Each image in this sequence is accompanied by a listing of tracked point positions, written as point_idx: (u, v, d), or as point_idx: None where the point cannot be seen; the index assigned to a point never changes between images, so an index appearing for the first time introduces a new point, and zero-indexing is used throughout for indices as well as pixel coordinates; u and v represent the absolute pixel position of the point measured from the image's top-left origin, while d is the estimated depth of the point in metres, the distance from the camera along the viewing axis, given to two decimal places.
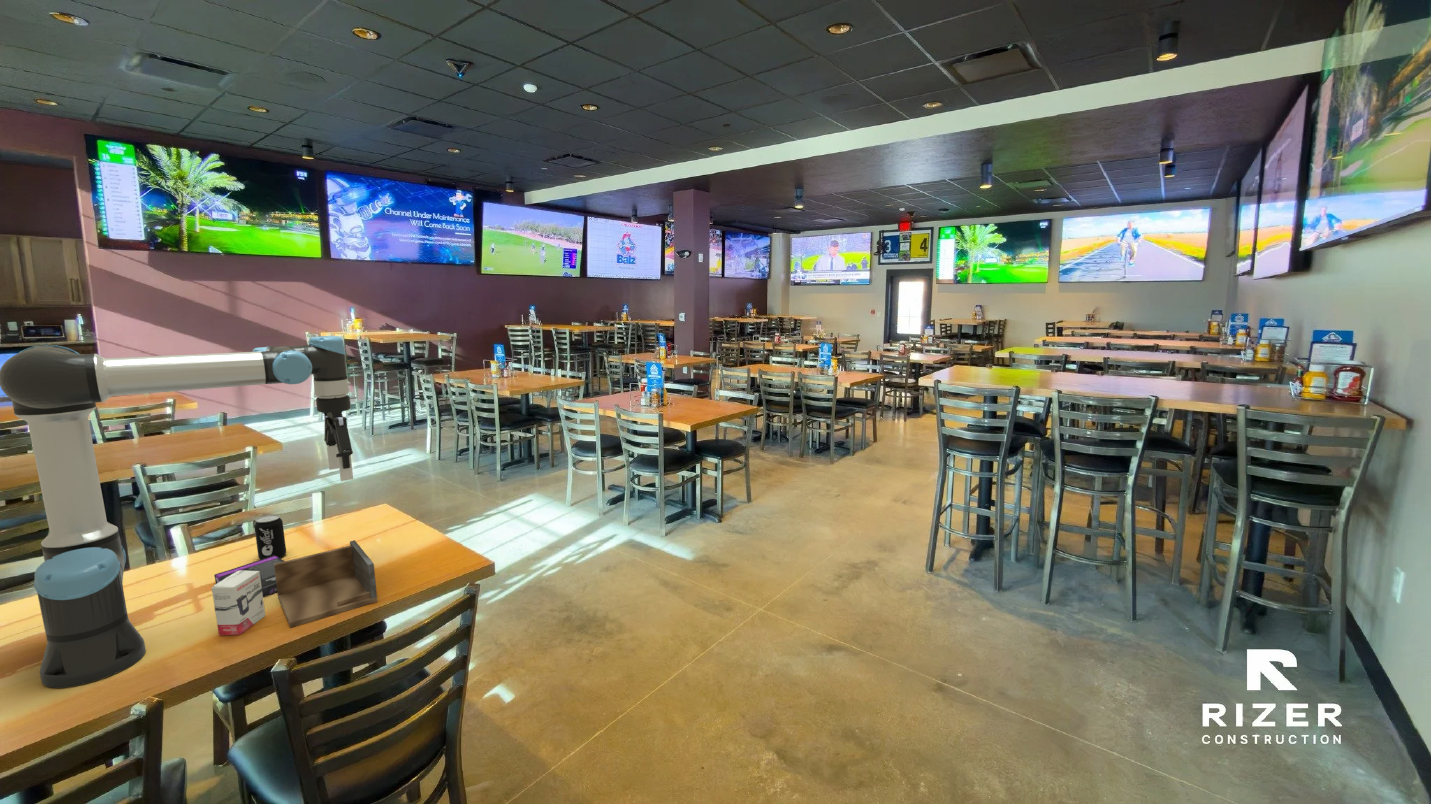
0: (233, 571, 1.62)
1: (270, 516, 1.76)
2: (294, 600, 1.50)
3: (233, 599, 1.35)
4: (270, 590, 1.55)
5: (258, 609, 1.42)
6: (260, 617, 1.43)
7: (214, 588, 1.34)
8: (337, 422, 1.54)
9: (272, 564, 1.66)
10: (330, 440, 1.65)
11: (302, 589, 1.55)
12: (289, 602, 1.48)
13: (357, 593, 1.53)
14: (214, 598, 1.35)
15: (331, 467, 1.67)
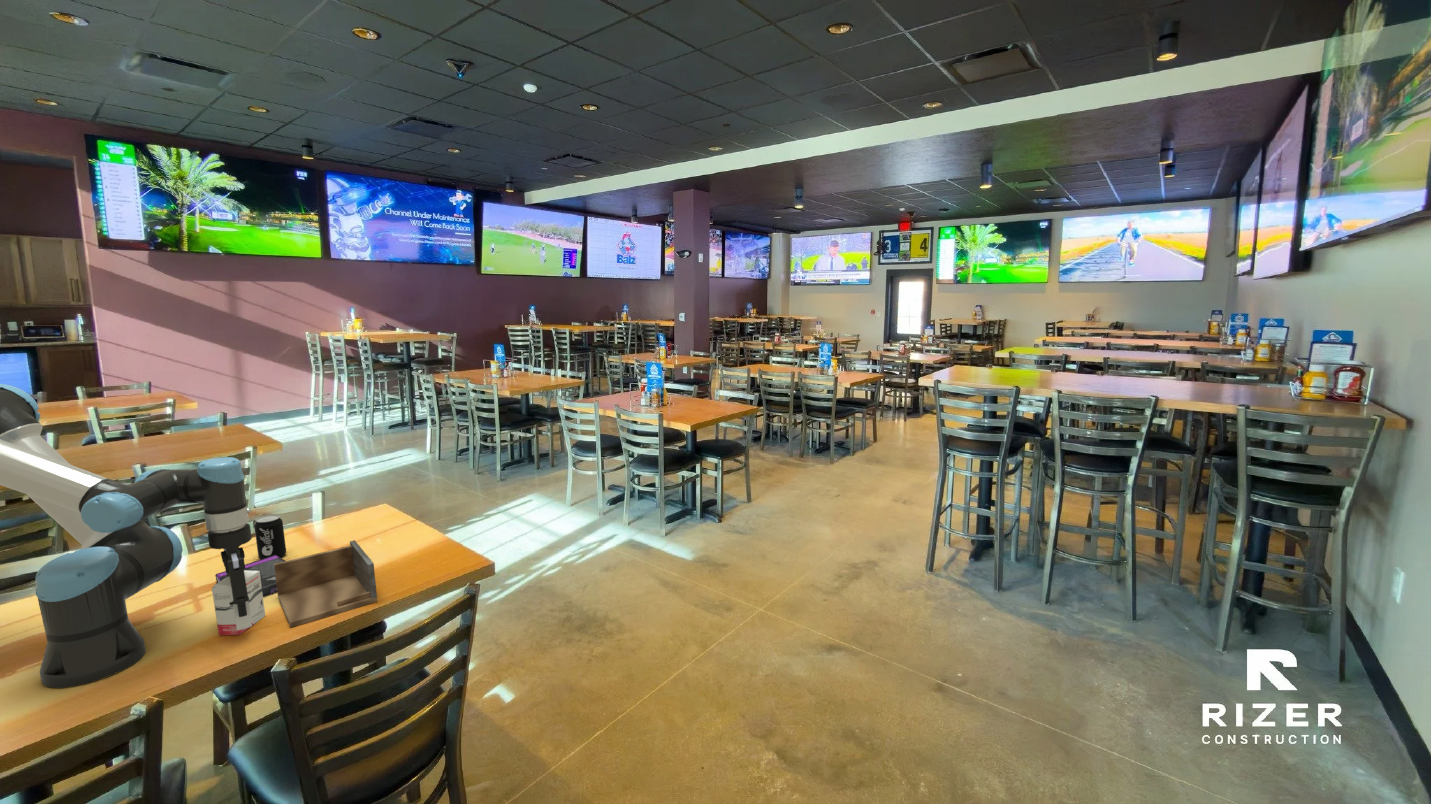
0: None
1: (270, 516, 1.76)
2: (294, 600, 1.50)
3: None
4: (271, 590, 1.55)
5: (258, 609, 1.42)
6: (260, 617, 1.43)
7: (214, 588, 1.34)
8: (231, 566, 1.32)
9: (273, 564, 1.66)
10: None
11: (302, 589, 1.55)
12: (289, 602, 1.48)
13: (357, 593, 1.53)
14: (215, 598, 1.35)
15: None
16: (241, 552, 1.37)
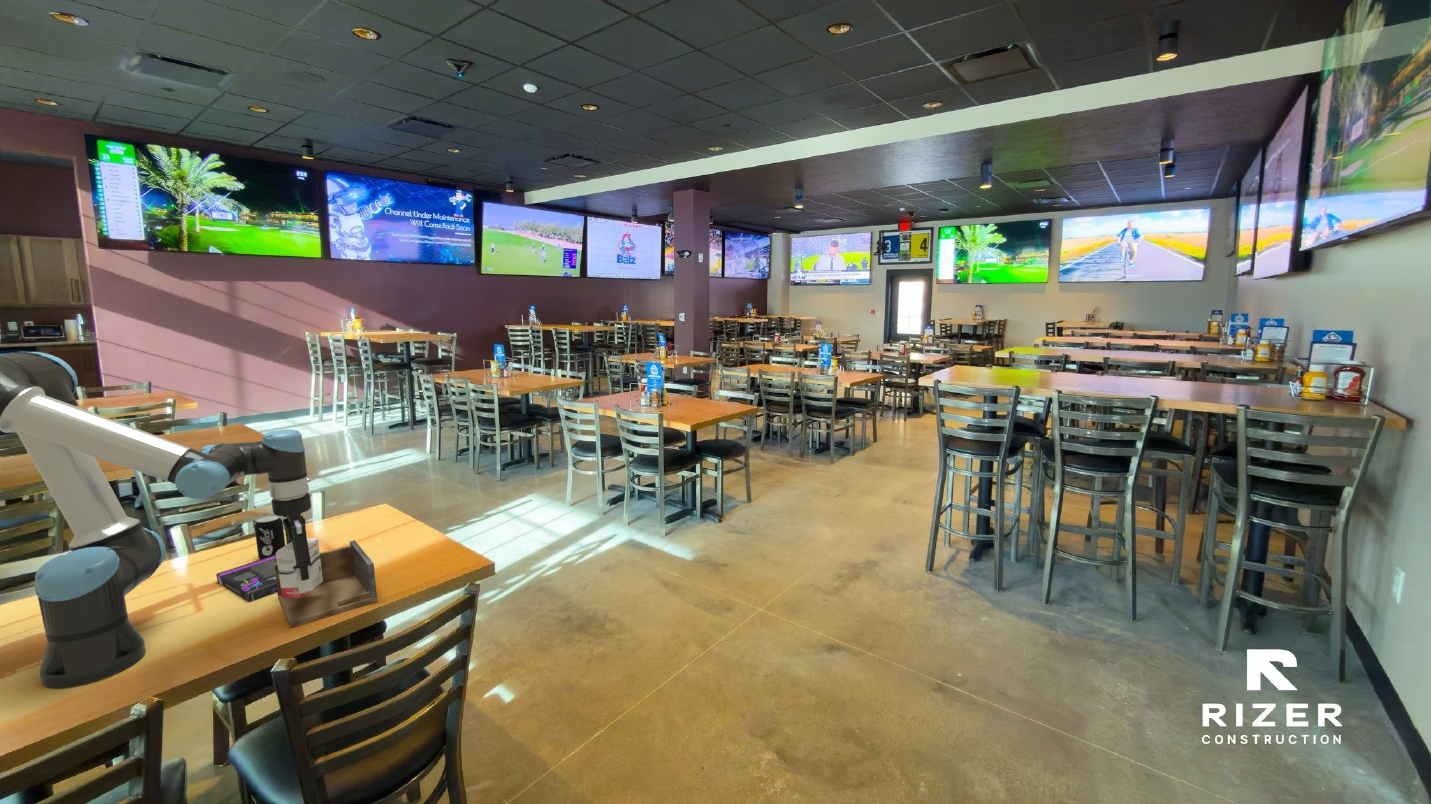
0: (235, 570, 1.62)
1: (270, 516, 1.76)
2: (294, 600, 1.50)
3: None
4: (272, 589, 1.55)
5: (317, 574, 1.50)
6: (319, 582, 1.50)
7: (278, 553, 1.42)
8: (295, 531, 1.39)
9: (274, 563, 1.66)
10: None
11: None
12: (289, 602, 1.48)
13: (357, 593, 1.53)
14: (278, 563, 1.42)
15: None
16: (302, 519, 1.44)
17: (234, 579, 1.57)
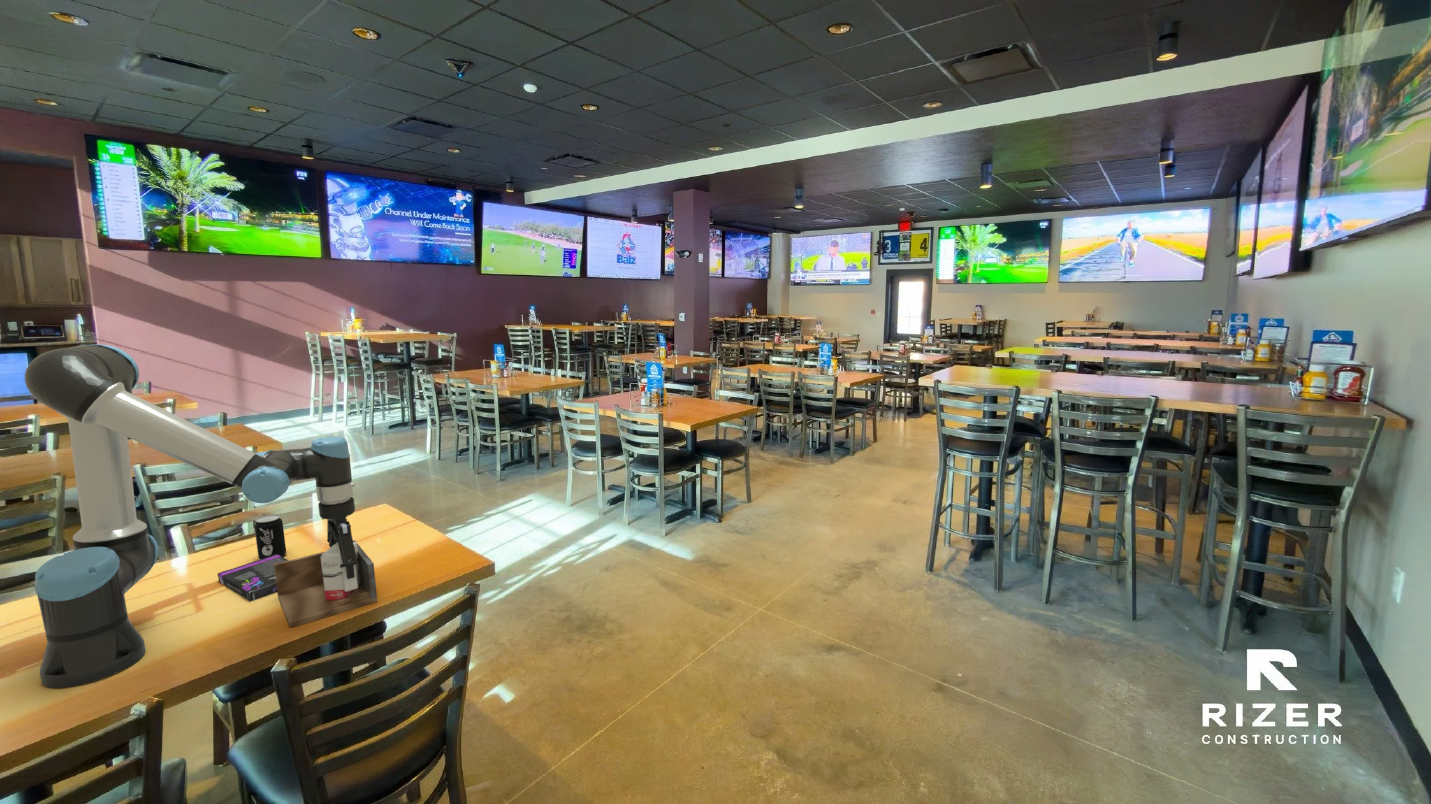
0: (236, 570, 1.63)
1: (270, 516, 1.76)
2: (294, 600, 1.50)
3: None
4: (273, 589, 1.55)
5: None
6: None
7: (323, 557, 1.48)
8: (341, 531, 1.45)
9: None
10: (333, 542, 1.56)
11: (302, 589, 1.55)
12: (289, 602, 1.48)
13: (357, 593, 1.53)
14: (323, 566, 1.48)
15: None
16: (346, 522, 1.51)
17: (235, 578, 1.58)
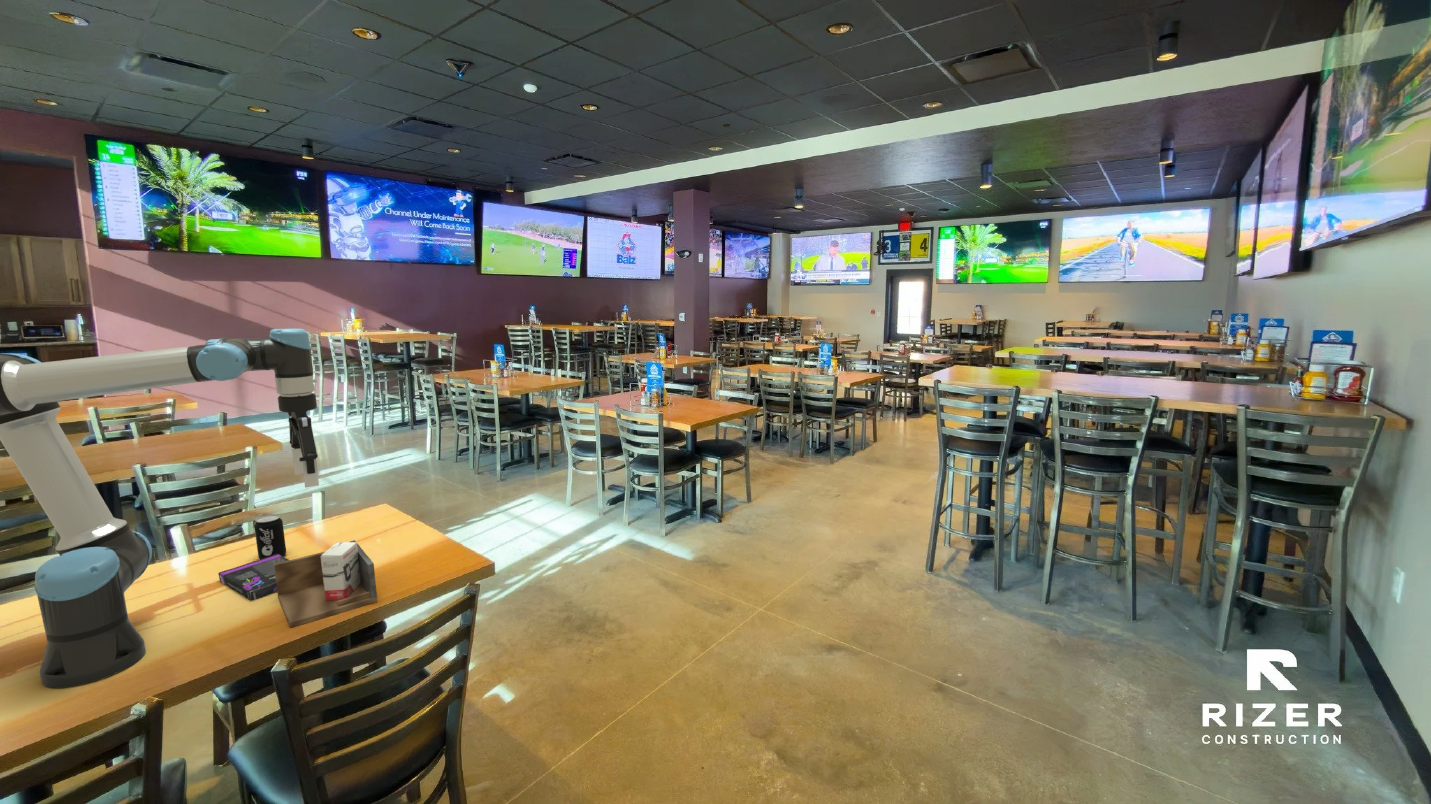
0: (237, 569, 1.63)
1: (270, 516, 1.76)
2: (294, 600, 1.50)
3: (340, 566, 1.49)
4: (274, 588, 1.56)
5: (356, 577, 1.56)
6: (357, 584, 1.57)
7: (323, 557, 1.48)
8: (300, 423, 1.40)
9: (276, 562, 1.67)
10: (295, 442, 1.51)
11: (302, 589, 1.55)
12: (289, 602, 1.48)
13: (357, 593, 1.53)
14: (323, 566, 1.48)
15: (297, 472, 1.53)
16: None
17: (236, 578, 1.58)
